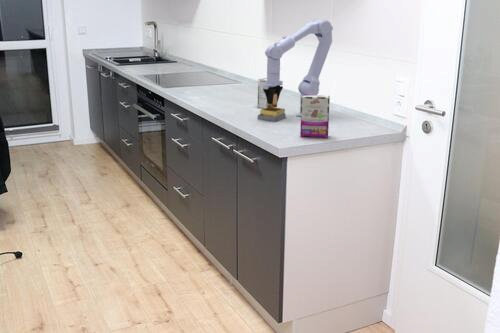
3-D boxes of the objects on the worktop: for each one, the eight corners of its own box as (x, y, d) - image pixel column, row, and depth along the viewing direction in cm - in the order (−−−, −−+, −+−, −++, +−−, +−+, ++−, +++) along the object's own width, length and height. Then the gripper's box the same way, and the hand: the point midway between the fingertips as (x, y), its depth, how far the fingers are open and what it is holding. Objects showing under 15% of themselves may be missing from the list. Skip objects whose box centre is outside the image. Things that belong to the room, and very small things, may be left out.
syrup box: (264, 105, 286) (264, 77, 282) (273, 107, 283) (274, 78, 278) (257, 107, 282) (257, 78, 278) (266, 109, 278) (267, 79, 274)
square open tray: (285, 117, 260) (285, 108, 258) (275, 121, 251) (275, 112, 250) (268, 115, 264) (268, 106, 263) (257, 119, 256) (257, 110, 255)
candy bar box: (328, 135, 229) (330, 95, 224) (327, 138, 224) (329, 97, 219) (300, 134, 231) (302, 94, 226) (299, 137, 226) (301, 96, 221)
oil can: (279, 106, 257) (279, 90, 255) (273, 107, 254) (273, 91, 252) (270, 105, 260) (270, 89, 258) (265, 106, 256) (265, 90, 254)
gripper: (273, 70, 260) (272, 99, 264) (257, 74, 248) (257, 104, 252) (286, 71, 257) (286, 101, 261) (271, 75, 245) (270, 106, 249)
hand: (272, 102), depth 256 cm, fingers closed on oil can, 5 cm apart
